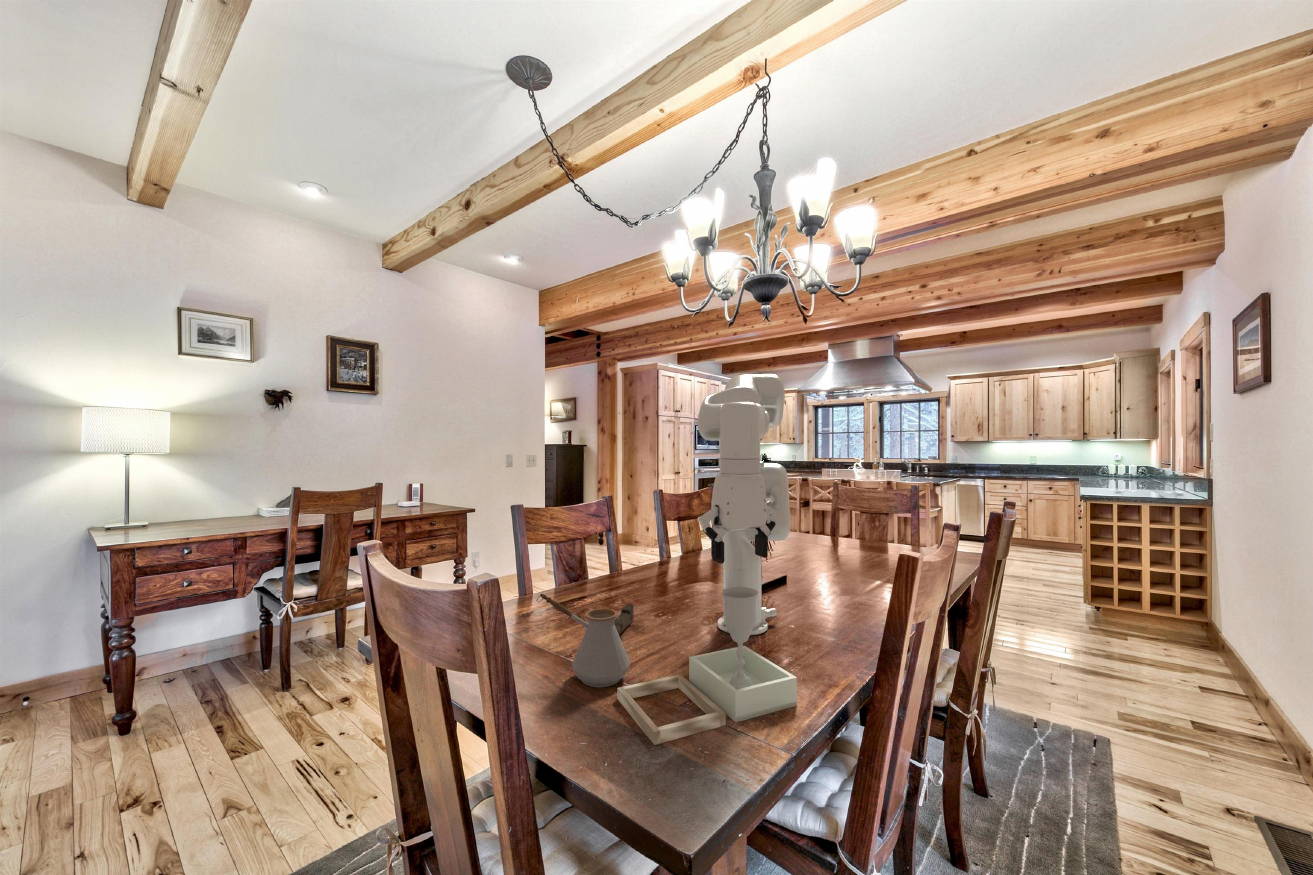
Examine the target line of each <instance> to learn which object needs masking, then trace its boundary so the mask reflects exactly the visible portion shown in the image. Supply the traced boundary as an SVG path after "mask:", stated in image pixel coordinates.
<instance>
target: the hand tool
mask: <svg viewBox="0 0 1313 875" xmlns="http://www.w3.org/2000/svg"><path fill="white" fill-rule="evenodd" d="M634 613H635V612H634V605H633V604H632V603H628V604H626V605H625V606H623V607H622V608H621V610H620V613H619V615H617V617H616V618H615V621H614V625H615V627H616V629H617V632H618V634H619V636H620V635H621V634H622V633H623V632H624V631H625V630H626V628H627V627H630V626H631V625H632V624H633V622H634V617H635V615H634Z"/></svg>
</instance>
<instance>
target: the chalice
mask: <svg viewBox="0 0 1313 875" xmlns="http://www.w3.org/2000/svg"><path fill="white" fill-rule="evenodd" d="M720 593H721V595H722V598H723V616H724V620H725V623H726V626H727V629H728V631H729V633H728V634H730V637H731V639H732V641H733V642H735V643H737V647H738V649H737V652H736V653H737V655H738V660H737V661H736V664H737V665H738V672H737V673H736V674H734V675H733V676H732V677H731V680H730V682H729V684H730V685H732V686H733V687H734V688H735V689H741V688H745V687H749V686H752V682H751V679H750V678H749V676H748V675H746V674H745V673H744V672H743V665H744V664H745V662H744V661H743V654H744V653H745V652H744V651H743V646H744V643H747V642H748V640H749V638H750V636H751V635H750V634H751V632H752V629H753V627H754V623H755V620H756V597H757V595H758V591H757V590H755V589H752V588H747V587H730V588H726V589H724V588H723V589H722V590H720Z"/></svg>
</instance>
